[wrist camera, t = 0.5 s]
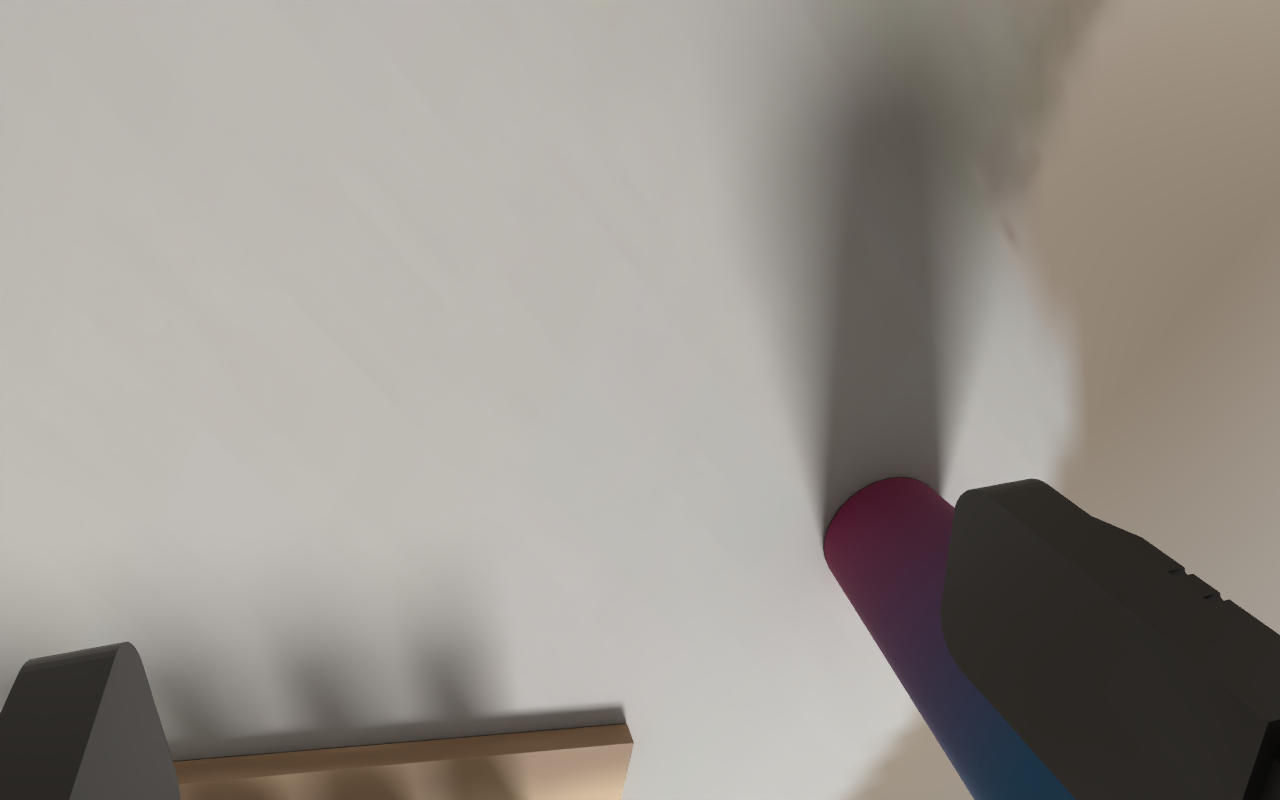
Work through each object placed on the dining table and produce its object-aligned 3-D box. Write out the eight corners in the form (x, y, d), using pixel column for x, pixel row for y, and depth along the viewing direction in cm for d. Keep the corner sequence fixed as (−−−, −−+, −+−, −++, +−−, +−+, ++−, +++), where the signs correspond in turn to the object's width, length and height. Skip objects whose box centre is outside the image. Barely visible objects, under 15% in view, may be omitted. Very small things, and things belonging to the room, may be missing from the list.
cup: (785, 501, 35) (1048, 848, 22) (949, 428, 35) (1297, 725, 23) (820, 627, 38) (1064, 990, 26) (968, 559, 39) (1279, 880, 26)
